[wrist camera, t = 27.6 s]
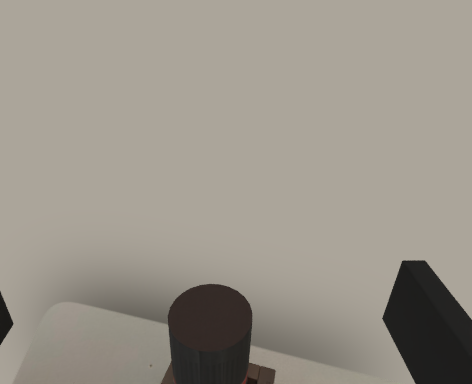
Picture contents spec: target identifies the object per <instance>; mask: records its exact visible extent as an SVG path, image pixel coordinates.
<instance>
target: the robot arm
mask: <svg viewBox="0 0 472 384" xmlns="http://www.w3.org/2000/svg"><path fill="white" fill-rule="evenodd" d="M382 319H383V321H384V323H385V325H386V327H387V328H388V330H389V333H390V335H391V337H392V338H393V340H394V342H395V344H396V346H397V348H398V350H399V352H400V354H401V356H402V358H403V360H404V362H405V364H406V366H407V368H408V370H409V372H410V374H411V376H412V378H413V379H414V381H415V383H416V384H472V320H471V318H470V317H469V316H468V315H467V313H466V312H465V311H464V309H463V308H462V307H461V306H460V304H459V303H458V302H457V301H456V300H455V298H454V297H453V296H452V295H451V293H450V292H449V290H448V289H447V288H446V287H445V285H444V284H443V283H442V282H441V280H440V279H439V278H438V276H437V275H436V274H435V273H434V271H433V270H432V269H431V268H430V266H429V265H428V264H427V262H426V261H402V264H401V266H400V269H399V272H398V275H397V278H396V281H395V284H394V286H393V289H392V292H391V295H390V298H389V302H388V304H387V307H386V310H385V312H384V315H383V318H382ZM12 326H13V321H12V319H11V316H10V314H9V312H8V309H7V307H6V304H5V302H4V300H3V297H2V295H1V292H0V345H1V343H2V342H3V340H4V338H5V337H6V335H7V333H8V332H9V330H10V329H11V327H12Z"/></svg>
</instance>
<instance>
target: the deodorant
mask: <svg viewBox="0 0 472 384" xmlns="http://www.w3.org/2000/svg"><path fill="white" fill-rule="evenodd" d="M168 326H169V337H170V348H171V359H172V370H173V381H174V384H247V378H248V366H249V354H250V341H251V329H252V310H251V307H250V304H249V303H248V301H247V300H246V298H245V297H244V296H242V295H241V294H240V293H239V292H238V291H236V290H234V289H232V288H230V287H227V286H223V285H218V284H207V285H200V286H197V287H193V288H190V289H189V290H187V291H185V292H184V293H182V294H181V295H180V296H179V297H178V298H177V299H176V300H175V301H174V303H173V304H172V306H171V307H170V310H169V314H168Z"/></svg>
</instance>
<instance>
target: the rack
mask: <svg viewBox="0 0 472 384" xmlns="http://www.w3.org/2000/svg"><path fill="white" fill-rule="evenodd" d="M275 372H276V370H274V369H270V368H266V367H263V366H261V367H260V366H259V365H256V364H252V363H249V366H248V378H247V384H274V379H275ZM161 384H174V381H173V370H172V361H171V363H170V365H169V367H168V370H167V372H166V374H165V376H164V378H163V380H162V382H161Z"/></svg>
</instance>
